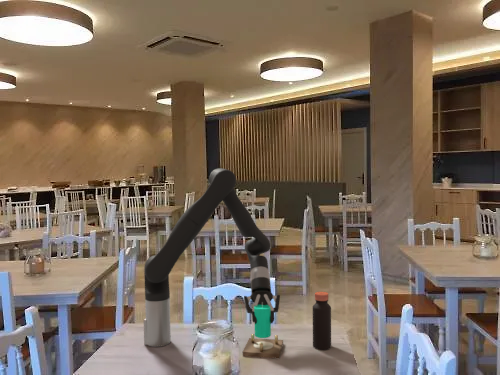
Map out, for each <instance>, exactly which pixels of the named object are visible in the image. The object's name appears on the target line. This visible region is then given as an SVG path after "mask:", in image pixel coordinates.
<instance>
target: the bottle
mask: <svg viewBox="0 0 500 375" xmlns="http://www.w3.org/2000/svg"><path fill="white" fill-rule="evenodd" d="M314 300H315V303H314V304H312V347H313V348H314V349H316V350H319V351H327V350H329V349H331V347H332V307H331V305H330V304H329V303H328V302H329V293H328V292H325V291H317V292H315V293H314Z"/></svg>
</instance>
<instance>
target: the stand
mask: <svg viewBox="0 0 500 375" xmlns="http://www.w3.org/2000/svg"><path fill="white" fill-rule="evenodd" d="M261 342H262V343H263V352H260V343H261ZM283 345H284V339H278V344H275V339H272V338H271V339H269V338H255V337H254V343H251V337H249V338H248V340H247V342H246V344H245V346H244V348H243V351H242V357H254V358H266V359H267V358H269V359H280V356H281V353H282V350H283Z"/></svg>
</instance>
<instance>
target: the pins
mask: <svg viewBox="0 0 500 375" xmlns="http://www.w3.org/2000/svg"><path fill="white" fill-rule="evenodd" d="M250 335H251V336H250V338H251V343H254V338H255V333H251V334H250ZM274 340H275V344H278V340H279V335H278V334H275V335H274ZM260 352H263V343H262V342H261V343H260Z"/></svg>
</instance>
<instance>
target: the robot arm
mask: <svg viewBox="0 0 500 375" xmlns="http://www.w3.org/2000/svg"><path fill="white" fill-rule="evenodd" d="M208 177H209V178H208V183H209V186H208V187H207V189H206V190H205V192H204V193H203V195H201V196H200V197H199V198H198V199H197V200H196V201H195V202H193V203H192V204H191V205H190V206H189V207H188V208H187V209H186V210H185V211H184V213H183V214H182V215H181V216H180V218H179V219H178V220H177V221H176V224H174V227H173V228H172V230H171V232H170V234H169V237H168V239H167V240H166V242H165V244H164V245H163V246H162V247H161V249H160V250H159V251H158V252H157V253H156V254H154V255H151V256H150V257H149V258H147V259H146V260H145V263H144V266H143V267H144V269H143V272H144V276H143V277H144V299H145V300H144V302H145V304H144V305H145V318H144V319H143V344H144V345H146V346H148V347H153V348H154V347H156V348H157V347H163V346H167V345H169V344H170V343H171V300H170V299H171V298H170V297H171V296H170V294H171V292H170V274H171V271H172V270H173V268H174V266H175V265H176V263H177V262H178V260H179V259H180V257H181V256H182V254H183V253H184V252H185V251H186V250H187V249H188V247H189V246H190V245H191V244H192V242H194V240H195V238H197V236H198V235H199V234H200V232H202V231H201V230H202V229H203V228H204V226H205V225H206V224H207V222H208V220H209V219H210V218H211V216H213V213H214V212H215V211H216V209H217V208H218V206H220V204H221V203H222V202H223V204H224V205H225V207H226V209H227V210H228V213H229V214H230V216H231V217H232V220H233V222H234V223H235V225H236V227H237V229H238V231H239V233H240V235H241V236H242V237H244V238H251V239H248V240H246V241H245V244H244V251H245V253H246V255H247V257H248V261H249V267H250V268H249V269H250V279H249V280H250V292H251V294H250V295H249V296H247V295H244V297H243V303H244V306H245V309H246V310H245V311H246V313H247V314H251V318H252V319H251V320H252V323H254V325H255V324H256V323H257V319H256V317H255V312H254V307H255V306H256V307H257V305H268V306H270V309H271V324H273V323H274V321H275V313H278V312H279V308H280V307H279V306H280V298H281V295H280V294H277V295H274V294H273V293H272V287H271V276H270V275H271V274H270V272H269V264H268V262H269V261H268V259H267V257H266V256H264V255H262V254H265V253H268V252H269V251H270V250H271V246H272V244H271V241H270V239H269V238H268V237H267V235H266V234H264V233H263V231H261V229H260V228H259V227H258V226H257V224H256V222H255V221H254V218H253V217H252V214H251V213H250V212H249V210H248V209H247V207H246V206H245V204H244V203H243V202H242V200H241V199H240V197H239V196H238V194H237V193H236V190H235V189H234V188H235V186H236V183H237V178H236V175H235V173H234V172H233V171H232V170H229V169H227V168H220V167H218V168H215V169H213V170H211V172H210V175H209V176H208ZM251 301H252V303H253V307H252V308H251V306H250V302H251ZM272 301H273V302H275V306H273V305H272V303H271V302H272Z"/></svg>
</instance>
